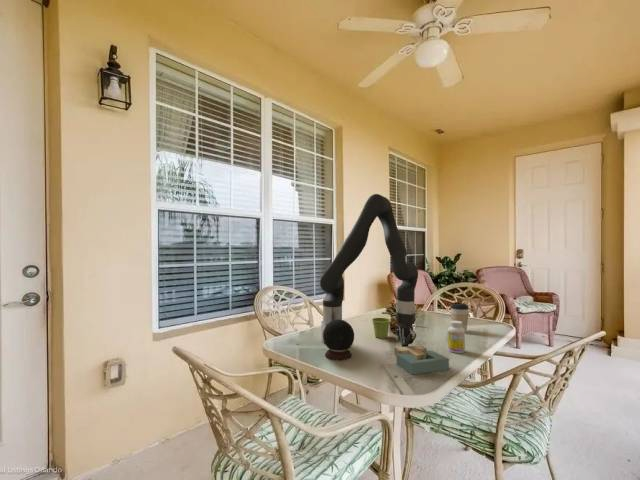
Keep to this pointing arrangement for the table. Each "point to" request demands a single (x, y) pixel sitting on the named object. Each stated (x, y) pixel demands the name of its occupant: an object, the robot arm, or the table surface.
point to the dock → (422, 363)
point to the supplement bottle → (456, 337)
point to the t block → (411, 352)
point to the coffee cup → (460, 314)
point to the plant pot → (381, 327)
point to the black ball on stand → (338, 340)
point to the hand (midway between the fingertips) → (404, 352)
